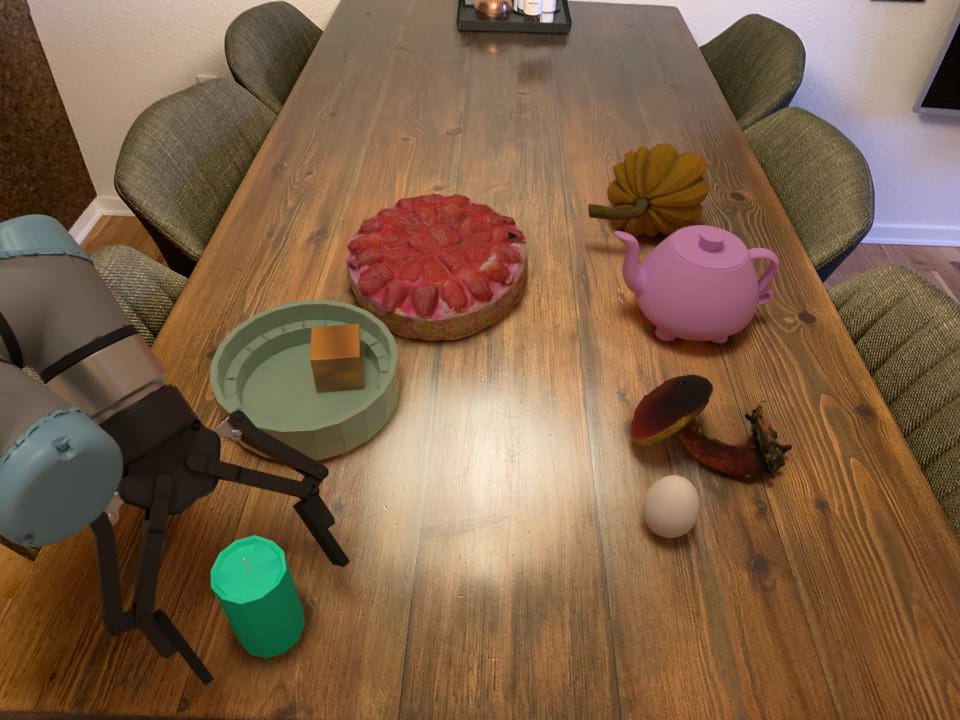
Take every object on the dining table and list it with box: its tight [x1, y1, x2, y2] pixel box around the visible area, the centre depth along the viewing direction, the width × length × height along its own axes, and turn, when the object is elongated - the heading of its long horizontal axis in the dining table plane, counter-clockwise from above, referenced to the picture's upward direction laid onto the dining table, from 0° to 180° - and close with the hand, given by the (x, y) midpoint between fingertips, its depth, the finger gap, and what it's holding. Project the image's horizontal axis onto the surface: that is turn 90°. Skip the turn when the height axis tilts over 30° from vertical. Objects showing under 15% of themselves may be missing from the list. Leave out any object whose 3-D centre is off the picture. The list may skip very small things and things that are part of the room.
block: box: [310, 324, 364, 393], centre depth 83 cm, size 6×6×6 cm
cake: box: [345, 192, 529, 342], centre depth 97 cm, size 25×25×8 cm
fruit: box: [587, 142, 710, 238], centre depth 105 cm, size 14×16×20 cm
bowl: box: [209, 299, 402, 462], centre depth 82 cm, size 21×21×6 cm
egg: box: [641, 474, 701, 539], centre depth 70 cm, size 5×5×8 cm
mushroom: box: [630, 374, 793, 480], centre depth 78 cm, size 12×12×15 cm
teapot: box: [613, 224, 780, 344], centre depth 91 cm, size 22×16×14 cm
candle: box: [210, 534, 306, 659], centre depth 60 cm, size 6×6×12 cm
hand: (278, 617), depth 59 cm, fingers open, 13 cm apart
